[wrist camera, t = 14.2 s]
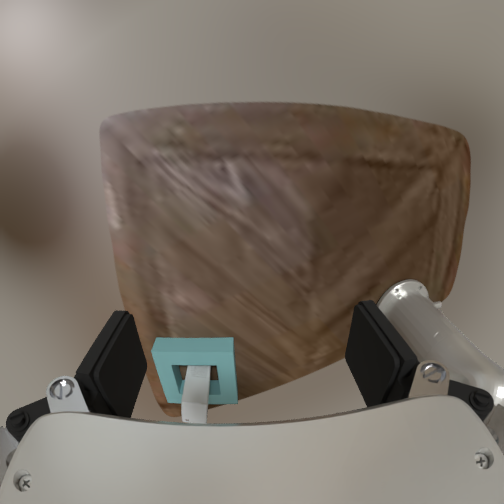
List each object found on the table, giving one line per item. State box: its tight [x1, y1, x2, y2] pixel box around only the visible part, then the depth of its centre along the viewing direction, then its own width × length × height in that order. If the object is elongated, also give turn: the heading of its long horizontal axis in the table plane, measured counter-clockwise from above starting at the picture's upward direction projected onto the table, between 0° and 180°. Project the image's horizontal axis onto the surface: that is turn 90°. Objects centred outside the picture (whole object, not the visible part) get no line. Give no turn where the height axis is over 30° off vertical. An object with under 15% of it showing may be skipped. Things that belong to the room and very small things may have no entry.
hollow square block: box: [151, 337, 238, 404], centre depth 47 cm, size 14×14×4 cm
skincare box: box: [181, 365, 211, 424], centre depth 44 cm, size 6×4×12 cm
